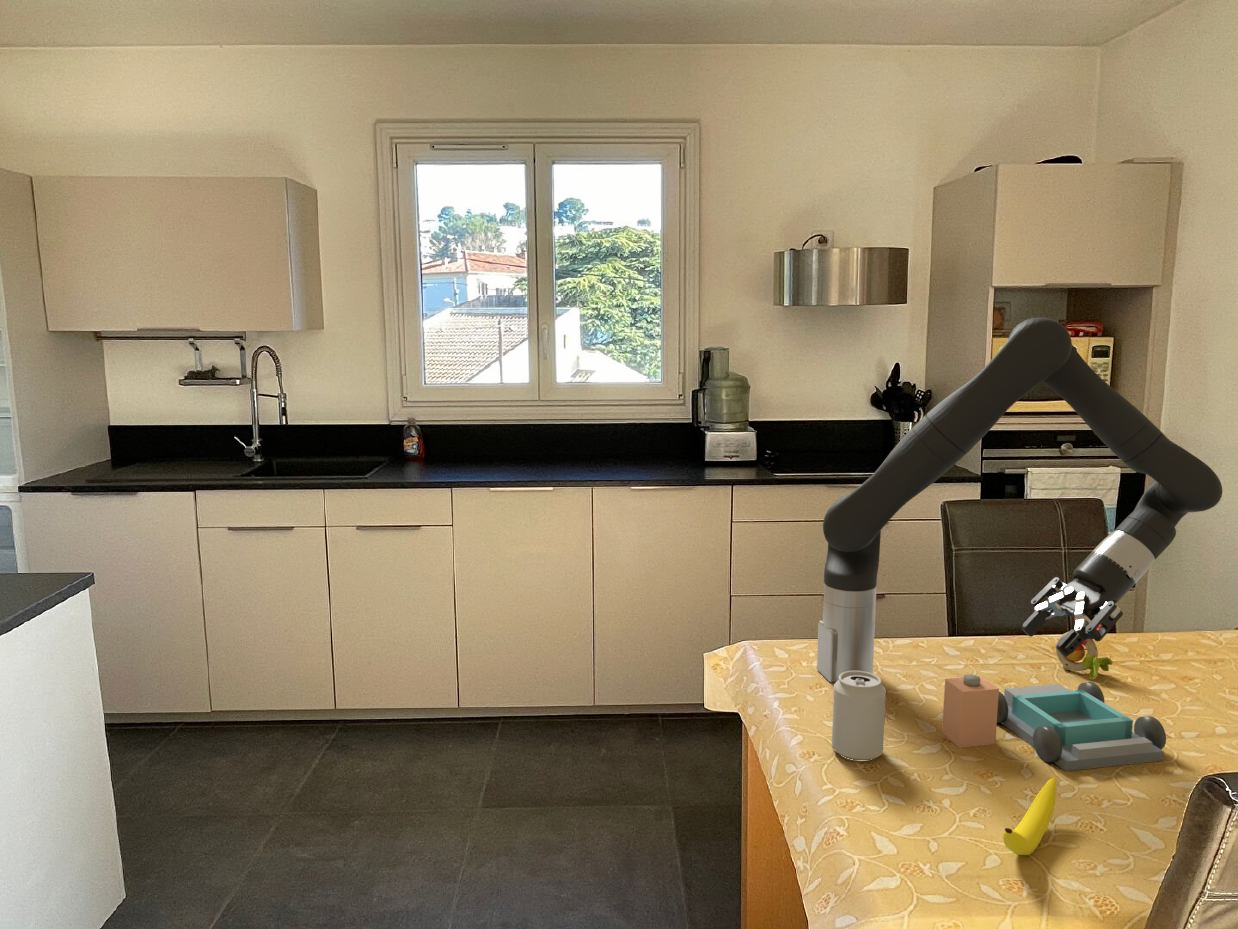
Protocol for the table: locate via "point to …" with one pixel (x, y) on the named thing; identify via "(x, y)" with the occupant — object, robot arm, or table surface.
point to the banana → (1032, 822)
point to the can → (858, 715)
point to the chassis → (1078, 727)
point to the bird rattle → (1089, 661)
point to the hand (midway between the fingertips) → (1042, 642)
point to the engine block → (970, 711)
